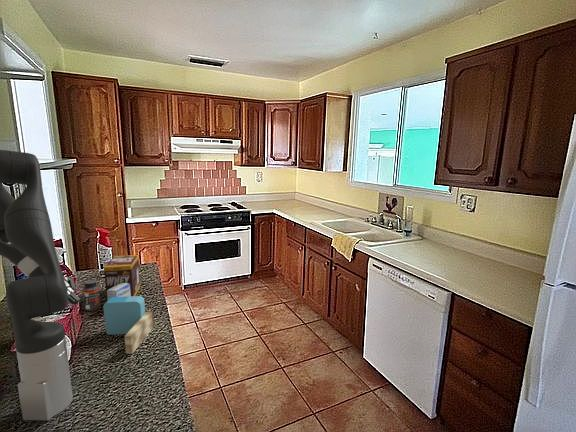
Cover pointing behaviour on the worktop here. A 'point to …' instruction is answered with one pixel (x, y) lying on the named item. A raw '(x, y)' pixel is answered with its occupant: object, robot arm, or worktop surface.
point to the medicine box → (119, 291)
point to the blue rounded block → (123, 313)
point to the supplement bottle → (91, 295)
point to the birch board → (139, 332)
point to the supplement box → (123, 272)
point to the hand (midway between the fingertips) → (77, 302)
